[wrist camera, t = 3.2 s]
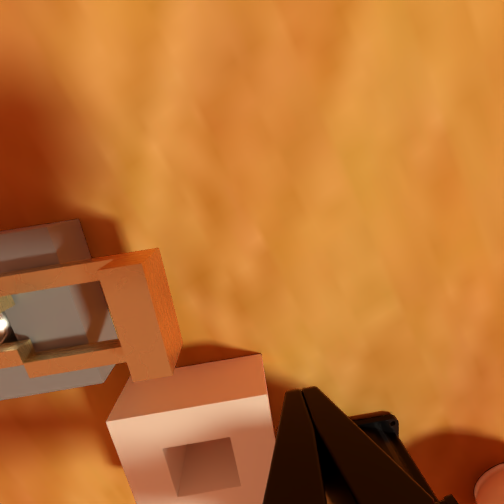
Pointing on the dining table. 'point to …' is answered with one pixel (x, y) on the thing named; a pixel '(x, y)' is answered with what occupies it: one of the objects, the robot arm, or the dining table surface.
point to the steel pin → (5, 328)
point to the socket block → (52, 307)
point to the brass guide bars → (122, 311)
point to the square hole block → (196, 434)
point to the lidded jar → (490, 486)
